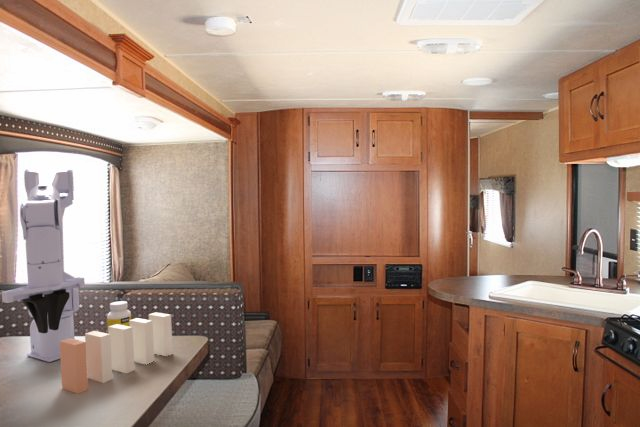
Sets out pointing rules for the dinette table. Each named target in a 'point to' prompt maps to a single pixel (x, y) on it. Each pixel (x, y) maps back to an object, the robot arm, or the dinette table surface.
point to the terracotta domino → (73, 365)
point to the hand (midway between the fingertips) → (48, 330)
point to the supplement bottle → (118, 314)
